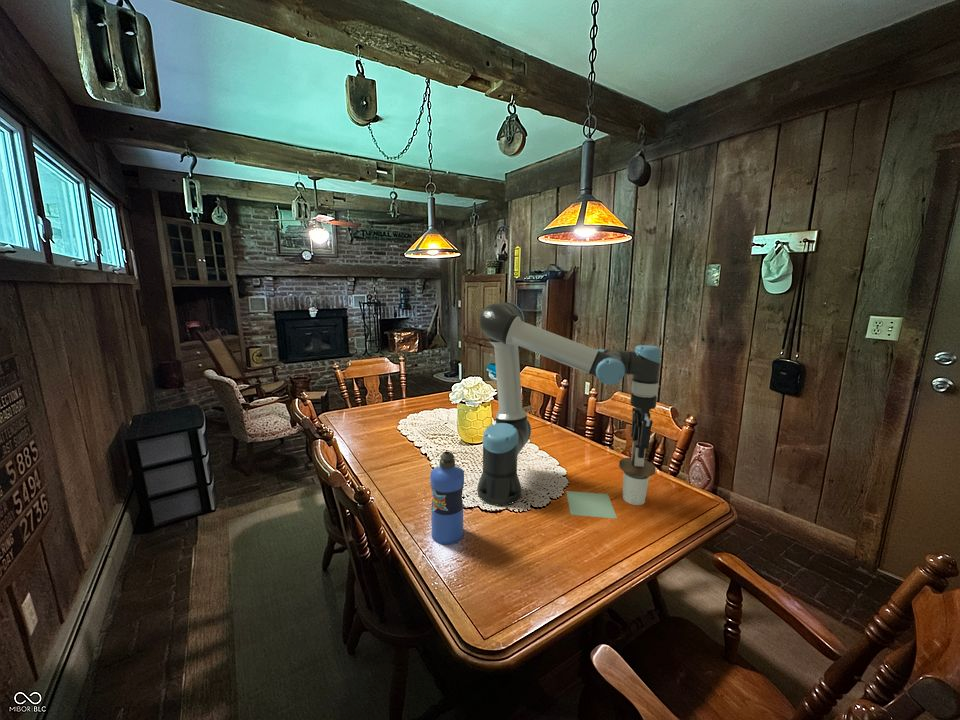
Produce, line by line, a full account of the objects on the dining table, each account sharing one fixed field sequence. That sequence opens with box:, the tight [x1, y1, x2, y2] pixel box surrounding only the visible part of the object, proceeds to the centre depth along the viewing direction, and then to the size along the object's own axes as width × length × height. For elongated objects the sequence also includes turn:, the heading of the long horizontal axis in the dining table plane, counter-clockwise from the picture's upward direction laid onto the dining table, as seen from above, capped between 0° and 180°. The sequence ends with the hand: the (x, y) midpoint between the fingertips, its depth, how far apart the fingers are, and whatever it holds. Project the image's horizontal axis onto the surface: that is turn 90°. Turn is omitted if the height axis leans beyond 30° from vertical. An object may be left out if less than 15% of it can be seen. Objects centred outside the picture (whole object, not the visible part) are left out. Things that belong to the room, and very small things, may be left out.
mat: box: [565, 490, 618, 520], centre depth 122 cm, size 14×14×1 cm
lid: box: [618, 440, 657, 477], centre depth 122 cm, size 11×11×9 cm
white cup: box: [622, 470, 650, 506], centre depth 124 cm, size 8×8×10 cm
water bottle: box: [429, 450, 465, 546], centre depth 104 cm, size 9×9×25 cm
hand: (637, 463), depth 122 cm, fingers closed on lid, 3 cm apart
